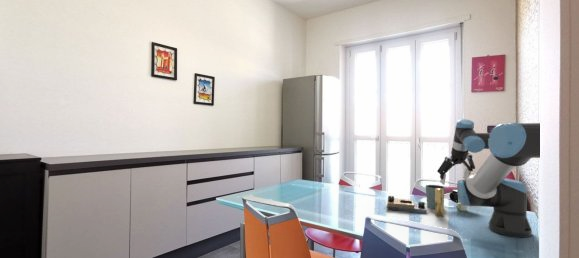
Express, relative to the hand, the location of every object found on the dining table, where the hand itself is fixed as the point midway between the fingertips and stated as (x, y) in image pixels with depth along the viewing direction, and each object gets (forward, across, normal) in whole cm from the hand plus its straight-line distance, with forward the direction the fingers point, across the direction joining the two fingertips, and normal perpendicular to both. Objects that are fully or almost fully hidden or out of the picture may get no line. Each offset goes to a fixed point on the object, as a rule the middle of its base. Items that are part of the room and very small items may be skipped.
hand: (453, 181), depth 155 cm
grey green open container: (+18, +8, -1) cm, 20 cm away
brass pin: (+10, +15, +12) cm, 22 cm away
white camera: (+16, -3, +6) cm, 18 cm away
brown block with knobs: (+14, +26, 0) cm, 30 cm away
